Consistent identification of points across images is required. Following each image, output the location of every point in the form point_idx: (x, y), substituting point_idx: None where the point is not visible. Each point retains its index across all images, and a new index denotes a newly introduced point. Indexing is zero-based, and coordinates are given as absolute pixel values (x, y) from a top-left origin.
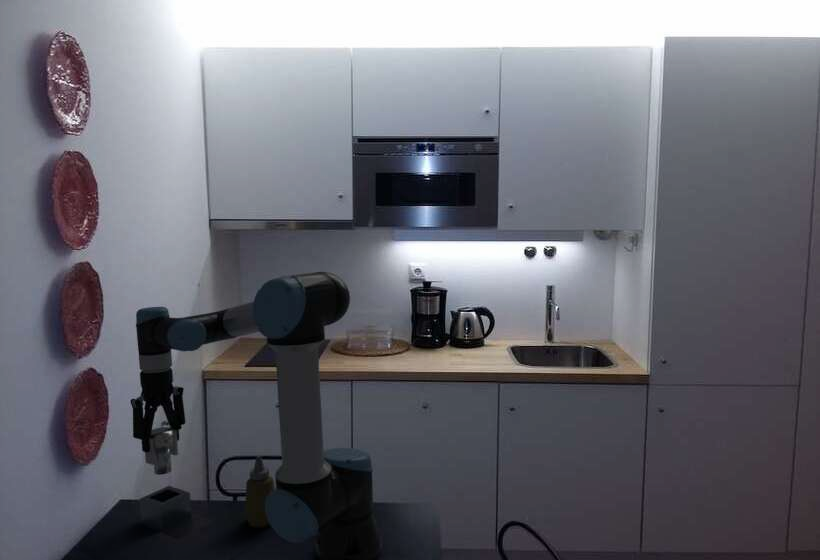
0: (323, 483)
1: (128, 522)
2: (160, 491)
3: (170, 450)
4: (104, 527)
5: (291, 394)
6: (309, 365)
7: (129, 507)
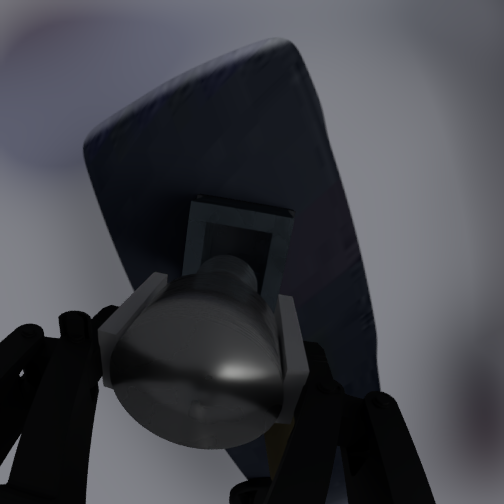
0: None
1: (209, 149)
2: (252, 223)
3: (276, 314)
4: (172, 117)
5: None
6: None
7: (270, 89)
